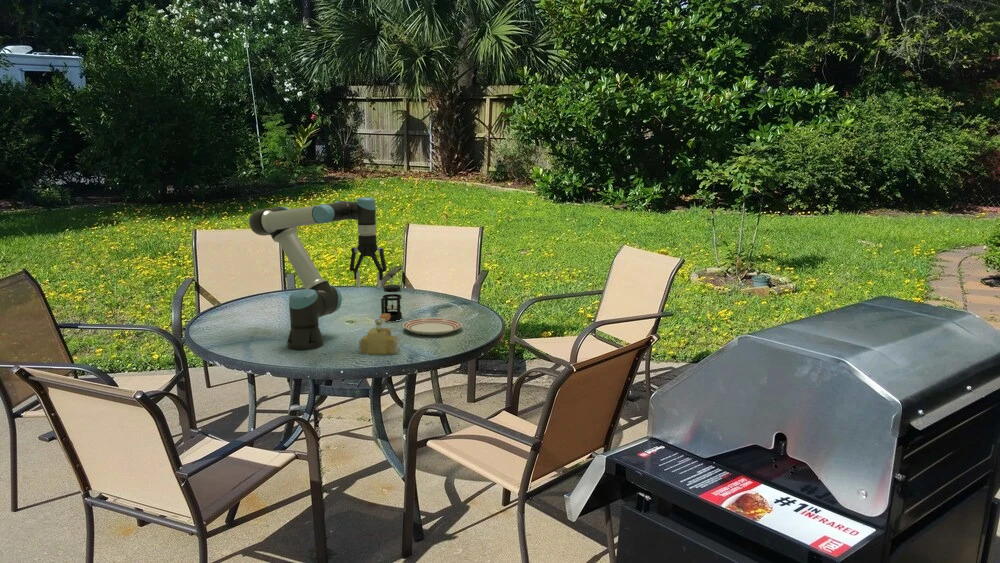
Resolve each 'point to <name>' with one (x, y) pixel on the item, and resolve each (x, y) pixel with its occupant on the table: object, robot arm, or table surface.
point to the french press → (384, 307)
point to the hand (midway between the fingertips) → (368, 287)
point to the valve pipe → (379, 342)
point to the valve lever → (382, 320)
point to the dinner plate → (432, 326)
